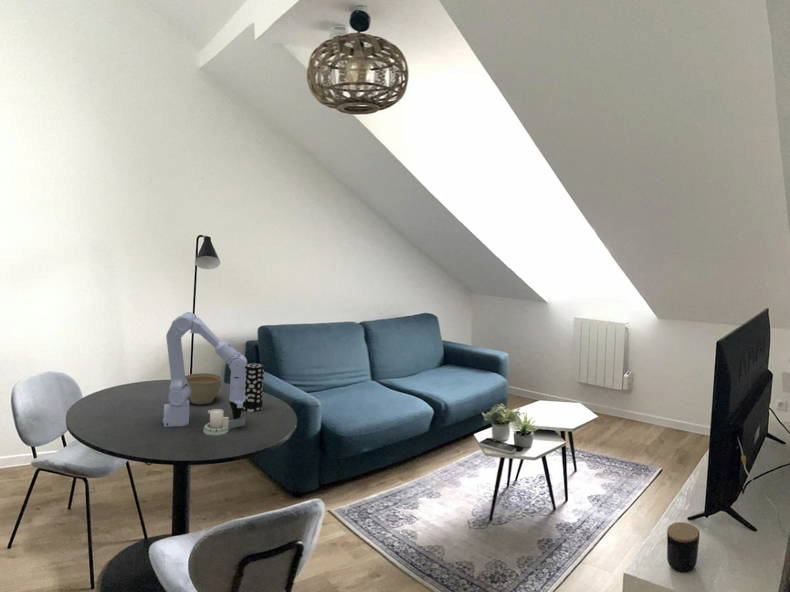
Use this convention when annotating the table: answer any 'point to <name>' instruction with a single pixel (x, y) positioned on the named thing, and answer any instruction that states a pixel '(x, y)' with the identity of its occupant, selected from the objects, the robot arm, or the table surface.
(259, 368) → the spotted tube
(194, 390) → the planter bowl
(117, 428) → the table surface
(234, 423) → the turntable
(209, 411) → the cream round-ended cylinder
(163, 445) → the table surface
